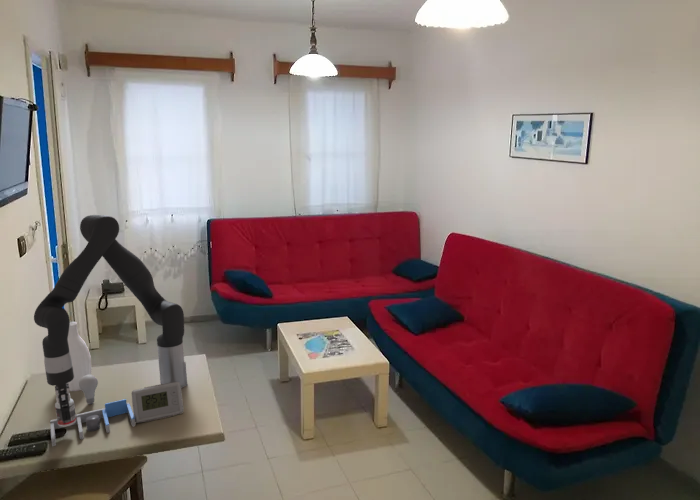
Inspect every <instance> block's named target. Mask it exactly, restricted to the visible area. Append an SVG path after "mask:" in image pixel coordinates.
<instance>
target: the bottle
mask: <svg viewBox="0 0 700 500" xmlns="http://www.w3.org/2000/svg"><path fill="white" fill-rule="evenodd" d="M68 345H69V351H70V355H71V359H72V366H73V373H74V378H73V380H72V381H70V382H68V383H69V390H70V391H69V392H78V391H82V390H81V389H80V387H79V381H80V379H81V378H82V377H83V376H85V375H92V370H93V369H92V356H91V353H90V350H89V347H88V345H87V343H86V341H85V340H84V339H83V338H82V337H81V335H80V334H79V330H78V322H77V321H70V325H69V334H68Z"/></svg>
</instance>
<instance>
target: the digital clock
mask: <svg viewBox="0 0 700 500" xmlns="http://www.w3.org/2000/svg"><path fill="white" fill-rule="evenodd" d="M182 393H183V392H182V388H181V385H180V382H173V383H165V384H161V383H160V384H156V385H151V386H145V387H144V388H138V389H133V390H132V391H131V403H132V412H133V415H134V417H135V424H139V423H144V422H146V423H148V422H153V421H156V420H157V421H158V420H162V419H167V418H171V417H174V416H177V415H180V414H181V415H182V414H183V413H184V411H185V409H184V402H183V395H182Z"/></svg>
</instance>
